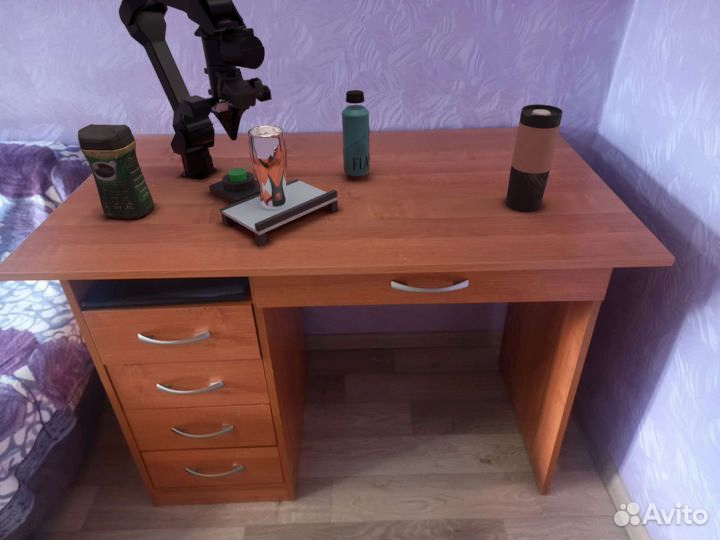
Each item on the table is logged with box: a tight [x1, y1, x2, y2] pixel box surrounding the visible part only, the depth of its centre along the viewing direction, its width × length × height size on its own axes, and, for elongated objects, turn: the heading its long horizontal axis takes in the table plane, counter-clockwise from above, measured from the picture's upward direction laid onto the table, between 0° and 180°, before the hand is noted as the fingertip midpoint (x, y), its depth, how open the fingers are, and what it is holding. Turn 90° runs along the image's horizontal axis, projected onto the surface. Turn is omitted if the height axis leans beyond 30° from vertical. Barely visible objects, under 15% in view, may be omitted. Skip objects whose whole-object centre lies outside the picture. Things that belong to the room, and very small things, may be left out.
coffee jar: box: [77, 123, 155, 220], centre depth 96 cm, size 10×8×19 cm
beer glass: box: [247, 124, 290, 210], centre depth 92 cm, size 7×7×15 cm
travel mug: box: [505, 103, 563, 213], centre depth 96 cm, size 8×8×20 cm
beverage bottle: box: [341, 89, 371, 177], centre depth 109 cm, size 6×7×20 cm
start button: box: [227, 167, 247, 182], centre depth 105 cm, size 4×4×2 cm
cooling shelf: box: [219, 178, 339, 247], centre depth 97 cm, size 13×20×4 cm, turn 136°
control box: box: [208, 171, 260, 205], centre depth 107 cm, size 11×9×4 cm
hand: (233, 139), depth 103 cm, fingers closed
